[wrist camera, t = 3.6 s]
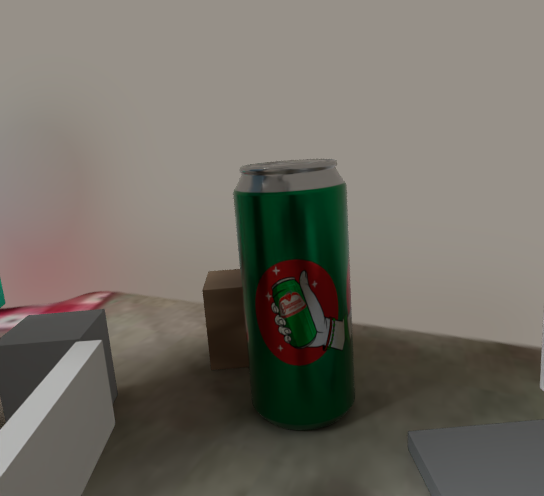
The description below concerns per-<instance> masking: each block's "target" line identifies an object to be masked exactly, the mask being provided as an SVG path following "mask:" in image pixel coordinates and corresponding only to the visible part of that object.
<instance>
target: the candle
mask: <svg viewBox="0 0 544 496" xmlns="http://www.w3.org/2000/svg"><path fill="white" fill-rule="evenodd" d="M4 304H5V299H4V294H3V289H2V284H1V279H0V308H1V307H2V306H3V305H4Z"/></svg>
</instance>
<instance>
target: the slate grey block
mask: <svg viewBox="0 0 544 496" xmlns="http://www.w3.org/2000/svg"><path fill="white" fill-rule="evenodd" d="M93 340H102V342H103V348H104V355H105V361H106V367H107V373H108V380H109V386H110V392H111V399H112V404H113V403H114V401H115V399H116V397H117V395H118V393H117V386H116V380H115V373H114V367H113V360H112V354H111V348H110V341H109V335H108V328H107V322H106V315H105V309H100V310H88V311H76V312H64V313H52V314H40V315H28V316H27V317H26V318H25V319H23V320H22V321H21V322H20V323H18V324H17V325H16V326H15V327H13V328H12V329H11V330H10V331H8V332H7V333H6V334H5V335H4V336H2V337H1V338H0V397H1V401H2V406H3V411H4V416H5V420H6V423H7V421H8V420H9V419H10V418H11V417H12V416H13V414H14V413H15V412H16V411H17V410H18V409H19V407H20V406H21V405H22V404H23V403H24V402H25V401H26V399H27V398H28V397H29V396H30V395H31V394H32V392H33V391H34V390H35V389H36V388H37V387H38V385H39V384H40V383H41V382H42V381H43V380H44V378H45V377H46V376H47V375H48V374H49V373H50V371H51V370H52V369H53V368H54V367H55V366H56V364H57V363H58V362H59V361H60V360H61V359H62V357H63V356H64V355H65V354H66V353H67V352H68V351H69V349H70V348H71V347H72V346H73V345H74V344H75V342H81V341H93Z"/></svg>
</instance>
